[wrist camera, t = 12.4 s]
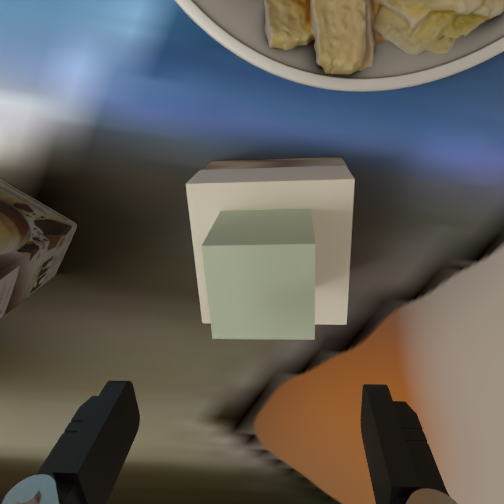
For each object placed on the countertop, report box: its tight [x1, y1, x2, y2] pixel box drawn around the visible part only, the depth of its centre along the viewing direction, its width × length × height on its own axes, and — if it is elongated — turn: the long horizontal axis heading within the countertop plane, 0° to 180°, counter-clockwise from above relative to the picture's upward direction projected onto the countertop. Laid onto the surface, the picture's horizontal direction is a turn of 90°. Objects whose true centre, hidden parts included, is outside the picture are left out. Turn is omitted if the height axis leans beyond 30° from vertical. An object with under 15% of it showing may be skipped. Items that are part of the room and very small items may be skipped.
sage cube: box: [202, 209, 315, 340], centre depth 22 cm, size 6×6×6 cm
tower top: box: [186, 165, 355, 325], centre depth 27 cm, size 10×10×4 cm
